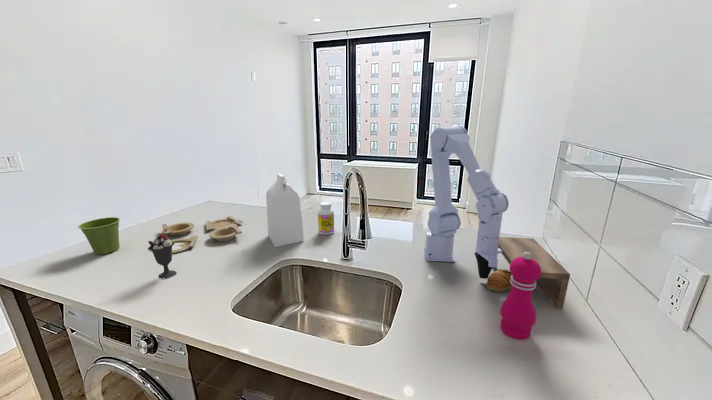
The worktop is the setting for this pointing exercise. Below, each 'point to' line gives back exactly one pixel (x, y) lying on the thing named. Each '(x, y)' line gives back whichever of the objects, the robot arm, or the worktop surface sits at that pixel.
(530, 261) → the pepper mill
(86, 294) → the worktop surface
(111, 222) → the plant pot
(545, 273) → the walnut shelf
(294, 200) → the milk
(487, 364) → the worktop surface
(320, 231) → the supplement bottle
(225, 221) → the tableware set
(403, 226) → the worktop surface
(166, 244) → the sundae
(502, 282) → the pastry
